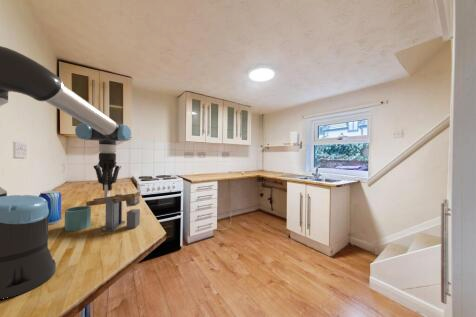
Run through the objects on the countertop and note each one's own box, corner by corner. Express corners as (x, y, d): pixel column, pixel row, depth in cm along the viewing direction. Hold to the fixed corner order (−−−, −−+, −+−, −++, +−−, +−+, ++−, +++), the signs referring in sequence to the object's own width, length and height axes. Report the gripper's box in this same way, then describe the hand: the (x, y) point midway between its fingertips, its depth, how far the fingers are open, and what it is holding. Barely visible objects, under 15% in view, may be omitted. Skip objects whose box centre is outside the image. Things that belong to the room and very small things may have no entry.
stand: (113, 230, 86) (113, 199, 86) (101, 231, 86) (102, 199, 86) (125, 222, 97) (125, 194, 97) (114, 222, 97) (115, 194, 96)
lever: (147, 198, 104) (146, 188, 104) (135, 205, 89) (133, 194, 89) (106, 204, 102) (105, 194, 102) (86, 212, 87) (85, 201, 87)
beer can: (33, 224, 91) (33, 192, 91) (54, 219, 99) (55, 189, 99) (43, 227, 89) (44, 194, 88) (64, 221, 97) (65, 191, 96)
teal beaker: (81, 230, 86) (81, 211, 85) (59, 231, 85) (59, 211, 84) (95, 223, 95) (95, 205, 95) (75, 223, 94) (75, 206, 94)
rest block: (135, 228, 90) (135, 212, 90) (126, 228, 90) (126, 212, 90) (139, 224, 95) (139, 209, 95) (131, 224, 95) (131, 209, 95)
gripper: (124, 153, 103) (123, 194, 104) (99, 152, 102) (98, 194, 103) (116, 153, 96) (116, 198, 97) (89, 152, 95) (89, 198, 95)
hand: (107, 196), depth 100 cm, fingers closed
